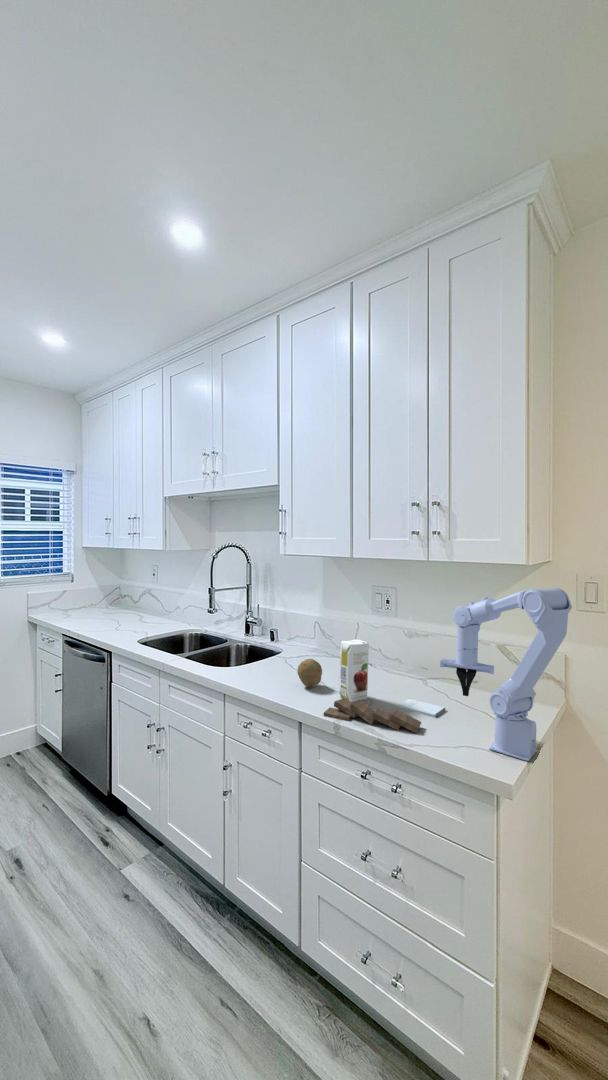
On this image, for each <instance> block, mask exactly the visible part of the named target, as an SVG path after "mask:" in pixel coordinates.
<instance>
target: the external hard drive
mask: <svg viewBox="0 0 608 1080" xmlns="http://www.w3.org/2000/svg"><path fill="white" fill-rule="evenodd" d="M397 708H398V709H401V710H405V711H410V712H413V713H415V714H420V715H424V716H427V717H431V718H435V719H436V717H438V716H440V715H441V714H442V713H444V712H445V711H446V707H445V706H440V705H435V704H432V703H429V702H424V701H420V700H415V699H412V698H407V699H405V700H404V701H402V702H399V703H398V704H397Z"/></svg>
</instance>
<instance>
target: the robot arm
mask: <svg viewBox="0 0 608 1080" xmlns="http://www.w3.org/2000/svg"><path fill="white" fill-rule="evenodd" d="M572 608H573V606H572V603H571V600H570V597H569V594H568V593H567V592H566V591H565V590H563V589H562V588H559V587H551V588H540V589H538V588H529V589H527V590H520V591H518V592H515V593H513V594H510V595H508V596H504V597H502V598H500V599H498V600H496V599H494V598H491V597H488V596H487V597H481V600H480V601H477V602H469V603H468V605H467V606H466V605H458V606H457V607H456V608H454V611H453V614H452V616H453V621H454V623H455V624H456V625H457V626H456V627H457V628H456V630H457V631H456V656H455V657H456V659H447V658H446V659H444V658H441V659H440V660H439V661H440V664H439V666H440V668H450V669H456V671H455V673H456V676H457V678H458V680H459V683H460V686H461V689H462V690H461V691H462V696H465V697H469V695H470V689H471V685H472V683H473V681H474V679H475V677H476V675H477V672H479V673H487V674H490V675H494V674H495V666H494V665H491V664H487V663H486V664H485V663H480V662H478V654H479V651H478V650H479V632H480V630H481V625H482V624H483V623H486V622H490V621H493V620H494V621H495V620H496V619H499V618H500V617H501V614H502V613H503V612H504V613H505V612H508V611H511V610H515V609H520V610H524V611H525V612H526V614H527V615H528V617H529V618H530V620H531V622H532V624H533V625H534V626H535V628H536V629H537V633H536V635H535V636H534V638H533V640H532V642H531V643H530V645H528V648H527V649H526V651H525V654H524V655H523V657H522V658H521V660H520V662H519V664H518V665H517V666H516V668H515V670H514V672H513V673H512V675H511V677H510V678H509V679H508V680H506V681H505V682H504V683H502V684H501V685H500V686H499V687H498V689H497V690H494V691H493V692H491V694H490V695H489V706H490V708H491V710H492V712H493V715H494V716H495V726H494V727H495V728H494V730H495V731H494V732H495V733H494V742H493V743H492V745H490V746H489V747H488V748H489V750H490V751H493V752H495V753H496V752H497V753H499V754H503V755H506V756H509V757H513V758H516V759H520V760H522V761H526V762H529V761H530V760H531V759H532V757H533V756H534V755H535V753H537V722H536V721H534V720H531V719H529V718H528V716H529V715H528V714H529V713H528V712H529V711H531V710H532V709H533V707H534V698H535V697H536V694H537V693H536V690H535V689H534V687H536V685H537V683H538V681H539V680H540V678H541V677H542V675H543V673H544V671H545V670H546V668H547V667H548V665H549V664H550V662H551V661H552V659H553V657H554V656H555V654H556V652H557V651H558V649H559V647H560V646H561V645H562V643H563V641H564V640H565V638H566V636H567V631H568V620H569V613H570V612H571V610H572Z"/></svg>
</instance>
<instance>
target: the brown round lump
mask: <svg viewBox="0 0 608 1080" xmlns="http://www.w3.org/2000/svg"><path fill="white" fill-rule="evenodd" d="M297 675H298V678H299V680H300V682H301V683H302V684H303V685H304V686H305V687H306V688H311V689H312V688H313V687H315V686H317V685H319V684H320V683H321V682H322V681H321V680H322V675H323V669H322V665H321V664H320V662H318V661H317V660H316V659H314V658H307V659H304V660H302V661H301V662H300V664H299V665H298V666H297Z"/></svg>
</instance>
